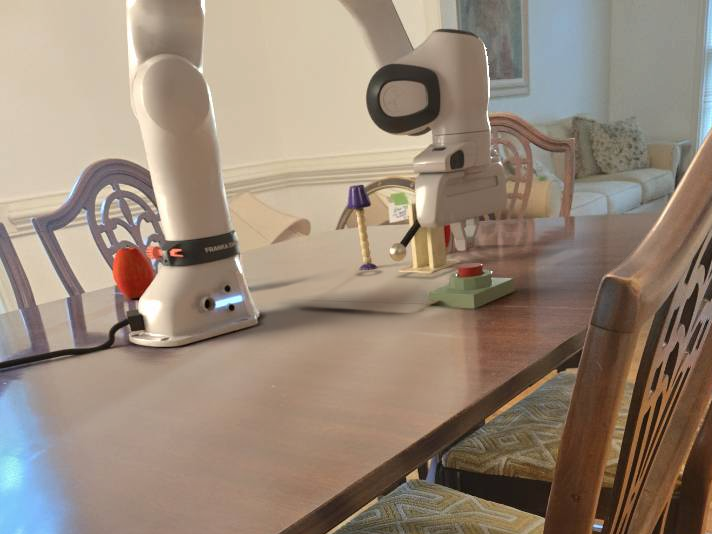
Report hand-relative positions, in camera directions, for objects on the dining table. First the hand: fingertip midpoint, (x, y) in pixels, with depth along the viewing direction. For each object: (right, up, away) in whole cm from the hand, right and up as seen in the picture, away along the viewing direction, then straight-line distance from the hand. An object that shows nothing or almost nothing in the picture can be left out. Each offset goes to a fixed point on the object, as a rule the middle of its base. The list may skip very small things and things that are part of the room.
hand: (466, 249), depth 124 cm
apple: (-66, +4, +37) cm, 76 cm away
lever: (-8, +11, +23) cm, 26 cm away
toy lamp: (-18, +8, +35) cm, 40 cm away
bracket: (-5, +6, +29) cm, 30 cm away
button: (+1, -3, +2) cm, 4 cm away
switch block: (+1, -7, +4) cm, 8 cm away
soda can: (-2, +14, +43) cm, 45 cm away
